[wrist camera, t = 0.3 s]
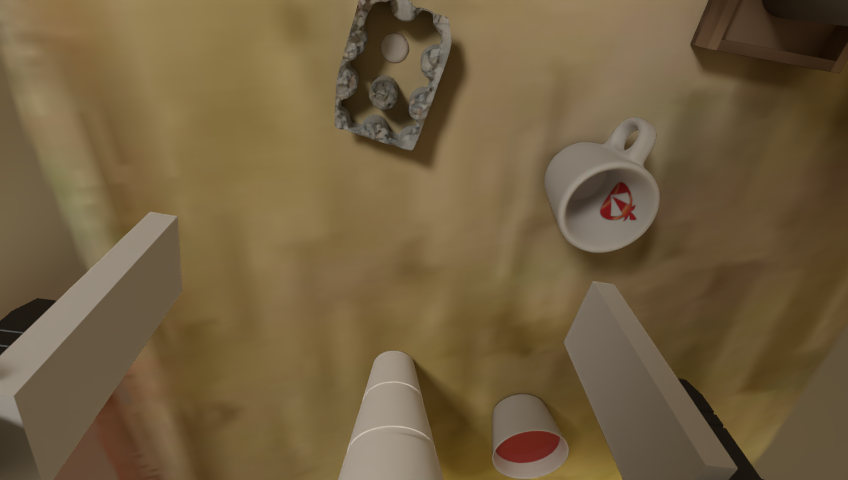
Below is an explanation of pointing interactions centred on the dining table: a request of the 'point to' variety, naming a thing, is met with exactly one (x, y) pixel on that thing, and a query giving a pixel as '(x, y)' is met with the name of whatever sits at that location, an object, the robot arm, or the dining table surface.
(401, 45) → the egg carton
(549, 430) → the candle
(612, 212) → the cup
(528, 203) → the dining table surface
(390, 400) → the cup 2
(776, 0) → the pepper mill
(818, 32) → the caddy
